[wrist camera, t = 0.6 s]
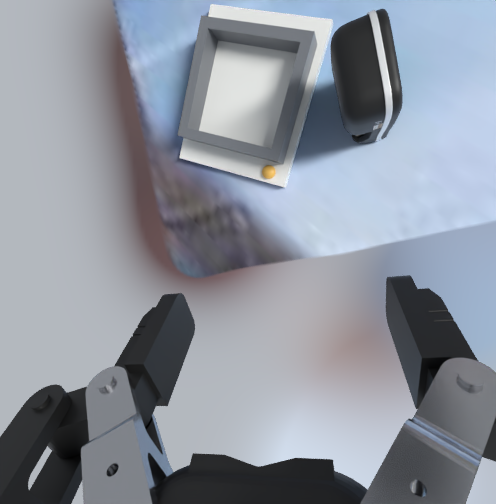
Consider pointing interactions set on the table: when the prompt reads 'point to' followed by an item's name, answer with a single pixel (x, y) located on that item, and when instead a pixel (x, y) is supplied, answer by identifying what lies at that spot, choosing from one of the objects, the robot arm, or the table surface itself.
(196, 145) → the charging dock
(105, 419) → the robot arm
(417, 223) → the table surface
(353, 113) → the battery charger
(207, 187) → the table surface
